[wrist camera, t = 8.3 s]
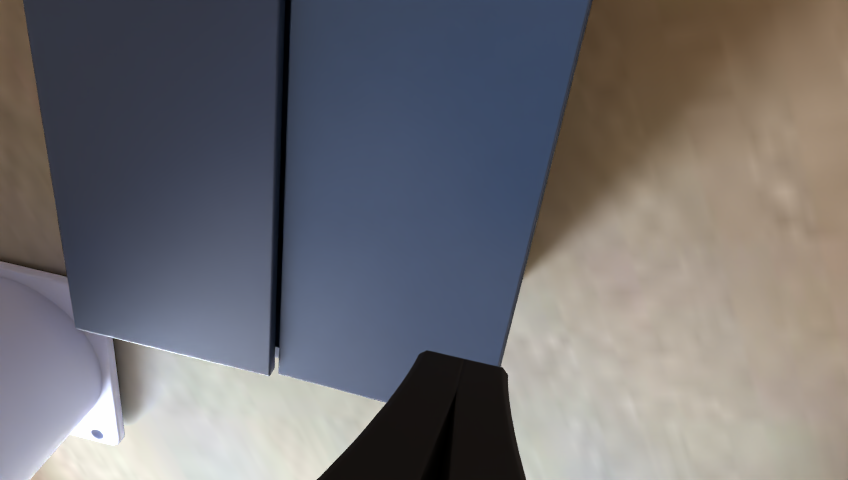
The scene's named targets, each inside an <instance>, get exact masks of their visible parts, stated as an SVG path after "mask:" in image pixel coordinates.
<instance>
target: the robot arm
mask: <svg viewBox="0 0 848 480" xmlns="http://www.w3.org/2000/svg"><path fill="white" fill-rule="evenodd" d="M69 434H72V435H75V436H79V437H83V438H87V439H91V440H94V441H98V442H102V443H106V444H110V445H116V444H119V443H120V442H121V440H122V439H123V438H124V435H125V432H124V424H123V416H122V408H121V400H120V392H119V384H118V376H117V368H116V360H115V353H114V345H113V338H112V337H108V336H104V335H100V334H96V333H92V332H87V331H83V330H79V329H76V328H75V323H74V316H73V310H72V304H71V298H70V291H69V285H68V279H67V277H65V276H61V275H57V274H52V273H48V272H44V271H40V270H35V269H31V268H27V267H23V266H19V265H14V264H10V263H6V262H2V261H0V480H30V479H31V478H32V477H33V476H34V474H35V473H36V472H37V471H38V470H39V469H40V468H41V466H42V465H43V464H44V463H45V462H46V461H47V460H48V458H49V457H50V456H51V455H52V454H53V453H54V452H55V450H56V449H57V448H58V447H59V446H60V445H61V444H62V442H63V441H64V440H65V439H66V438H67V437H68V436H69ZM317 480H526V478H525V474H524V470H523V466H522V462H521V458H520V455H519V451H518V446H517V442H516V437H515V432H514V427H513V421H512V416H511V409H510V402H509V393H508V374H507V373H506V372H505V370H504V369H503V368H502V367H498V366H494V365H489V364H485V363H481V362H476V361H472V360H468V359H463V358H459V357H455V356H450V355H446V354H442V353H437V352H433V351H429V350H426V351H424V352H422V353H420V354H419V355H418V357H417V359H416V361H415V363H414V364H413V366H412V368H411V369H410V371H409V372H408V374H407V375H406V377H405V378H404V380H403V381H402V383H401V384H400V386H399V387H398V388H397V390H396V391H395V392H394V394H393V395H392V396H391V398H390V399H389V400H388V402H387V403H386V404H385V405H384V407H383V408H382V409H381V410H380V411H379V413H378V414H377V415H376V416H375V417H374V419H373V420H372V421H371V422H370V423H369V425H368V426H367V427H366V428H365V429H364V430H363V432H362V433H361V434H360V435H359V436H358V437H357V439H356V440H355V441H354V442H353V443H352V444H351V445H350V446H349V447H348V448H347V449H346V450H345V451H344V452H343V453H342V454H341V455H340V457H339V458H338V459H337V460H336V461H335V462H334V463H333V464H332V465H331V466H330V467H329V468H328V469H327V470H326V471H325V472H324V473H323V474H322V475H321V476H320V477H319V478H318V479H317Z"/></svg>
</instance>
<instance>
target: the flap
mask: <svg viewBox="0 0 848 480" xmlns="http://www.w3.org/2000/svg"><path fill="white" fill-rule="evenodd" d="M589 4H590V0H291V14H290V44H289V74H288V104H287V134H286V163H285V193H284V223H283V253H282V283H281V313H280V343H279V374H281V375H285V376H289V377H292V378H296V379H300V380H303V381H307V382H311V383H315V384H318V385H322V386H326V387H330V388H333V389H337V390H341V391H345V392H348V393H352V394H356V395H360V396H363V397H367V398H371V399H374V400H378V401H382V402H386V403H387V402H388V400H389V399H390V398H391V396H392V395H393V394H394V392H395V391H396V390H397V388H398V387H399V386H400V384H401V383H402V381H403V380H404V378H405V377H406V375H407V374H408V372H409V371H410V369H411V368H412V366H413V364H414V363H415V361H416V359H417V357H418V355H419V354H420V353H422V352H424V351H426V350H429V351H433V352H437V353H442V354H446V355H450V356H455V357H459V358H463V359H468V360H472V361H476V362H481V363H485V364H489V365H494V366H498V367H499V364H500V360H501V356H502V352H503V348H504V344H505V340H506V336H507V332H508V328H509V324H510V320H511V316H512V312H513V308H514V304H515V300H516V296H517V292H518V288H519V284H520V280H521V276H522V272H523V268H524V264H525V260H526V256H527V252H528V248H529V244H530V240H531V236H532V232H533V228H534V224H535V220H536V216H537V212H538V208H539V204H540V200H541V196H542V192H543V188H544V184H545V180H546V176H547V172H548V168H549V164H550V160H551V156H552V152H553V148H554V144H555V140H556V136H557V132H558V128H559V124H560V120H561V116H562V112H563V108H564V104H565V100H566V96H567V92H568V88H569V84H570V80H571V76H572V72H573V68H574V64H575V60H576V56H577V52H578V48H579V44H580V40H581V36H582V32H583V28H584V24H585V20H586V16H587V12H588V8H589Z"/></svg>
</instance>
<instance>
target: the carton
mask: <svg viewBox="0 0 848 480" xmlns="http://www.w3.org/2000/svg"><path fill="white" fill-rule="evenodd" d="M592 1H593V0H590V4H589V8H588V12H587V16H586V20H585V24H584V28H583V32H582V36H581V40H580V44H579V48H578V52H577V56H576V60H575V64H574V68H573V72H572V76H571V80H570V84H569V88H568V92H567V96H566V100H565V104H564V108H563V112H562V116H561V120H560V124H559V128H558V132H557V136H556V140H555V144H554V148H553V152H552V156H551V160H550V164H549V168H548V172H547V176H546V180H545V184H544V188H543V192H542V196H541V200H540V204H539V208H538V212H537V216H536V220H535V224H534V228H533V232H532V236H531V240H530V244H529V248H528V252H527V256H526V260H525V264H524V268H523V272H522V276H521V280H520V284H519V288H518V292H517V296H516V300H515V304H514V308H513V312H512V316H511V320H510V324H509V328H508V332H507V336H506V340H505V344H504V348H503V352H502V356H501V360H500V364H499V367H501V363H502V359H503V355H504V351H505V347H506V343H507V339H508V335H509V331H510V327H511V323H512V319H513V315H514V311H515V307H516V303H517V299H518V295H519V291H520V287H521V283H522V279H523V275H524V271H525V267H526V263H527V259H528V255H529V251H530V247H531V243H532V239H533V235H534V232H535V228H536V224H537V220H538V216H539V212H540V208H541V204H542V200H543V196H544V192H545V188H546V184H547V180H548V176H549V172H550V168H551V164H552V160H553V156H554V152H555V148H556V144H557V140H558V136H559V132H560V128H561V124H562V120H563V116H564V112H565V108H566V104H567V100H568V96H569V92H570V88H571V84H572V80H573V76H574V72H575V68H576V65H577V61H578V57H579V53H580V49H581V45H582V41H583V37H584V33H585V29H586V25H587V21H588V17H589V13H590V9H591V5H592ZM23 4H24V11H25V17H26V23H27V29H28V36H29V42H30V48H31V54H32V61H33V67H34V73H35V79H36V85H37V92H38V98H39V104H40V110H41V117H42V123H43V129H44V135H45V142H46V148H47V154H48V160H49V167H50V173H51V179H52V185H53V192H54V198H55V204H56V210H57V217H58V223H59V229H60V235H61V241H62V248H63V254H64V260H65V266H66V273H67V279H68V285H69V291H70V298H71V304H72V310H73V316H74V323H75V328H76V329H79V330H83V331H87V332H92V333H96V334H100V335H104V336H108V337H112V338H116V339H120V340H124V341H128V342H132V343H136V344H140V345H144V346H149V347H153V348H157V349H161V350H165V351H169V352H173V353H177V354H181V355H185V356H189V357H193V358H197V359H201V360H206V361H210V362H214V363H218V364H222V365H226V366H230V367H234V368H238V369H242V370H246V371H250V372H254V373H259V374H263V375H267V376H270V375H271V373H272V371H273V370H274V368H275V357H276V358H279V343H280V313H281V283H282V253H283V223H284V193H285V163H286V134H287V104H288V74H289V44H290V14H291V0H23Z"/></svg>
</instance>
